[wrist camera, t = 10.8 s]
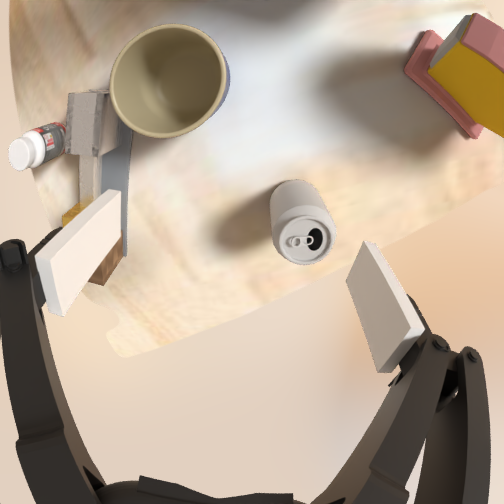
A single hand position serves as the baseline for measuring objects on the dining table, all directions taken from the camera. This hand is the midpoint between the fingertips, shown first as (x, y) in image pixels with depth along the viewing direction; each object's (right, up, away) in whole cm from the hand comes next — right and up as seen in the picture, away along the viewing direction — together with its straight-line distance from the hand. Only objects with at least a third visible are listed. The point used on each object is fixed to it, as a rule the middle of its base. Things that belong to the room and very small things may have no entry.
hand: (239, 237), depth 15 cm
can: (+7, +7, +27) cm, 29 cm away
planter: (-8, +22, +19) cm, 30 cm away
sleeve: (-20, +19, +20) cm, 34 cm away
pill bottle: (-30, +17, +22) cm, 41 cm away
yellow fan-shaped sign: (+31, +25, +16) cm, 43 cm away
